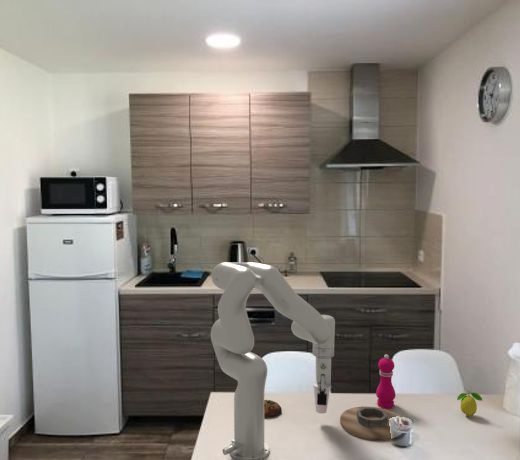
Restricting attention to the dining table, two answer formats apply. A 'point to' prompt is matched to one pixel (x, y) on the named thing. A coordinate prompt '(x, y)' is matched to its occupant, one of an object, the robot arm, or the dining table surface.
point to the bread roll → (271, 408)
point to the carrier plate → (367, 422)
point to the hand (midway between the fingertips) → (321, 400)
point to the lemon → (469, 403)
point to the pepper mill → (385, 384)
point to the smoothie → (318, 407)
